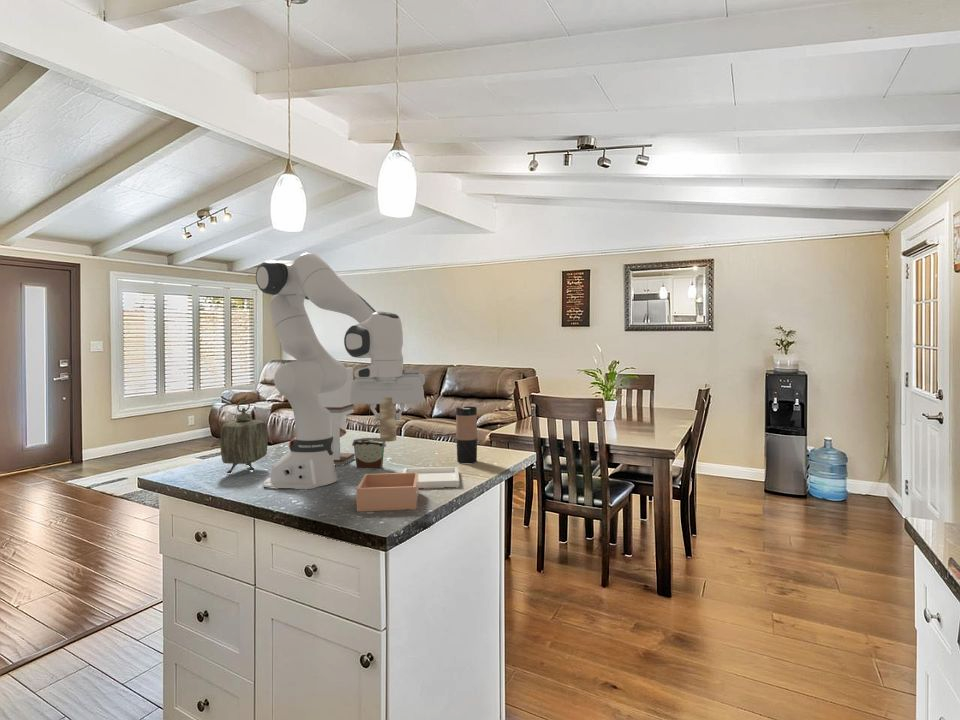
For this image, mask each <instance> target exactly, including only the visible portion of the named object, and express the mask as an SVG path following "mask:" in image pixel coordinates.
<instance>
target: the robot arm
mask: <svg viewBox="0 0 960 720" xmlns="http://www.w3.org/2000/svg"><path fill="white" fill-rule="evenodd" d="M255 281H256V285H257V288H258V289H259V290H260V291H261V292H262V293H264V294H267V295H270V296H271V295H272V297H271V298H270V301H269V311H270V316H271V320H272V323H273V324H272V325H273V327H274V329H275V332H276V335H277V338H278V340H279V343H280V346H281V348H282V350H283V352H285V353H286V354H287V355H288V356H291V357H292V358H293V359H294V360H293V361H290V362H286V363H284V364H281V365H279V366H278V367H277V368H276V370H275V371H274V372H275V373H274V376H273V381H274V382H273V383H274V386H275V388H276V390H277V391H278V393H280V394H281V395H283V396H284V398H286V399H287V402H288V403H289V404H290V406H291V409H292V412H293V416H294V426H295V427H294V428H295V429H294V430H295V437H294V436H293V438H291V439H290V441H289V443H288V447H289V451H288V452H286V453H285V454H284V455H283V456H281V457H280V458H279V459H278V460H277V461H276V462H275V463H274V464H273V465H272V468H271V471H270V477H268V478H266V479H265V480H264V481H263V482H262V483H263V484H262V486H264V487H275V488H274V489H278V488H295V489H294V490H312V489H314V488H317V487H322V486H327V485H329V484H333V483H336V482H337V481H338V479H339V478H338V475H337V471H336V467H335V466H336V465H334V460H333V452H334V441H333V436H332V427H331V413H330V411H329V410H328V409H326V408H325V407H323V406H322V405H321V403H320V401H319V397H318V394H321V393H329V392H333V391H336V390H338V389H340V388H342V387H343V386H344V385H345V384H346V381H347V370H346V368H347V367H346V366H345V365H344V364H343V362H341V361H339V360H337V359H336V358H335V357H333V356H332V355H331V354H330V353H329V352H328V351H327V350H326V348H325V347H324V346H323V345H322V343H321V342H320V340H319V339H318V337H317V334H316V333H315V330H314V328H313V325H312V323H311V321H310V318H309V315H308V313H307V311H306V308H305V300H306V301H307V300H309V301H310V302H311V303H313V304H314V305H315V306H316V307H317V308H319V309H321V310H325V311H330V312H334V313H340V314H341V315H342V314H343V315H346V316H349V317H351V318H352V319H354V320H355V321H356V322H357V323H358V324H355V325H351V326H350V327H349V328H347V331H346V332H345V334H344V338H343V343H344V348H345V350H346V352H347V353H348V355H350V356H351V357H352V358H357V359H370V364H369V365H365V366H363V367H359V368H358V369H355V370H354V371H353V377H355V378H354V379H353V382H352V385H351V392H350V401H351V403H352V404H354V405H370V406H369V409H370V410H371V412H372V414H373V416H374V421H380V412H379V413H378V412H377V410H376V407H377V405H380V404H382V398H392V403H393V404H396V405H399V408H401V409H400V410H399V411H398V412H396V421H401V420H402V413H403V411H404V409H405V408H406V405H407V404H422V403H423V402H424V401H425V391H424V385H425V383H426V376H425V373H424V372H423V371H420V370H419V369H415V370H414V369H413V370H411V369H404V356H403V353H402V351H403V350H402V349H403V343H404V340H403V339H404V338H403V337H404V335H403V333H404V332H403V325H402V324H403V323H402V321H401V318H400V316H399V315H398V314H397V313H393V312H386V311H376V310H375V309H374V308H373V306H371V304H369V303H368V302H367V301H366V300H365V299H364V298H363V297H362V296H361V295H359V294H358V293H357V292H356V291H354V290H353V289H352V288H351V287H350V286H349V285H347V284H346V282H344V281H343V280H342V279H341V278H340V277H339V276H338V275H337V273H336V272H335V271H334V270H333V268H332V267H331V266H330V265H329V264H328V262H326V261H324V259H322V258H321V257H320V256H318V255H317V254H315V253H311V252H305V253H302V254H300V255H298V256H297V257H296V258H295V259H294V260H292V259H291V260H268V261H264V262H262V263H260V264H259V266H258V267H257V269H256V272H255ZM264 487H263V488H264Z"/></svg>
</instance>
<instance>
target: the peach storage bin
mask: <svg viewBox="0 0 960 720" xmlns="http://www.w3.org/2000/svg"><path fill="white" fill-rule="evenodd" d="M419 493H420V492H419V480H418V473H403V472H390V473H389V472H385V473H365V474H364V475H363V477H362V478H361V481H360V482H359V484H358V485H357V487H356V512H373V511H375V512H377V511H378V512H379V511H380V510H381V511H404V510H405V509H410V510H417V507H418V501H419ZM405 511H406V510H405Z"/></svg>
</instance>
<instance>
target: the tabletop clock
mask: <svg viewBox="0 0 960 720" xmlns="http://www.w3.org/2000/svg"><path fill="white" fill-rule="evenodd" d="M242 403H247V405H248V407H247V408H245V407H243V408H242V409H240V405H241V404H242ZM250 407H251V405H250V401H249V400H248V399H241V400H240V401H239V402H238V403H237V406H236V409H237V411H238V412H239V414H237V416H236V417H235V419H233V420H231V421H228V422H226V423H224V424H223V425H222V426H221V428H220V429H221V430H220V445H219V446H220V457H221V460H222V463H223V464H227V465H229V464H232V466H231V468H230V470H227V472H226V474H227V473H231V472H232V473H233V470H234V469H235V467H236V466H237V465H245V466H246V465H249V466H250V467H249V469H248V471H249V470H254V471H255V468H254V467H252V466H253V465H252V463H255V462H257V461H258V460H260V459H262V458H264V457H265V456H266V455H267V453H268V428H267V427H268V426H267V423H265V422H264V420H261V419H253V417H252V415H251V414H250V413H248V410H250Z"/></svg>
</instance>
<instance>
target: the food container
mask: <svg viewBox="0 0 960 720" xmlns="http://www.w3.org/2000/svg"><path fill="white" fill-rule="evenodd" d="M351 446H352V447H353V449H354V453H355V459H354V460H355V467H356V469H358V468H368V469H367V470H379V469H381V470H383V465H384V453H385V448H386V447H387V444H386V442H384V441H380V438H379V437H362V438H356V439H353V441H352V444H351Z"/></svg>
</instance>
